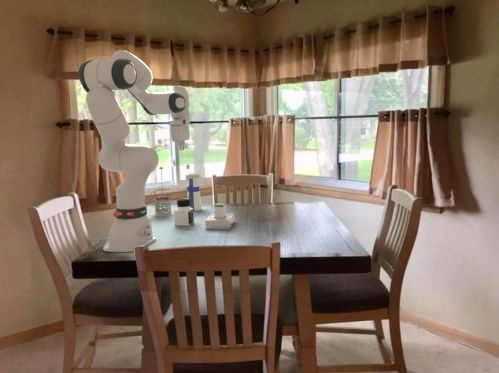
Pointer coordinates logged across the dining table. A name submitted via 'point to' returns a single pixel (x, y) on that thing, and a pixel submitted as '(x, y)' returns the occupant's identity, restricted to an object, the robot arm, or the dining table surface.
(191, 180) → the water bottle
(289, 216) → the dining table surface
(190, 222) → the medicine bottle
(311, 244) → the dining table surface
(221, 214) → the plug
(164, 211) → the french press
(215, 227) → the socket
